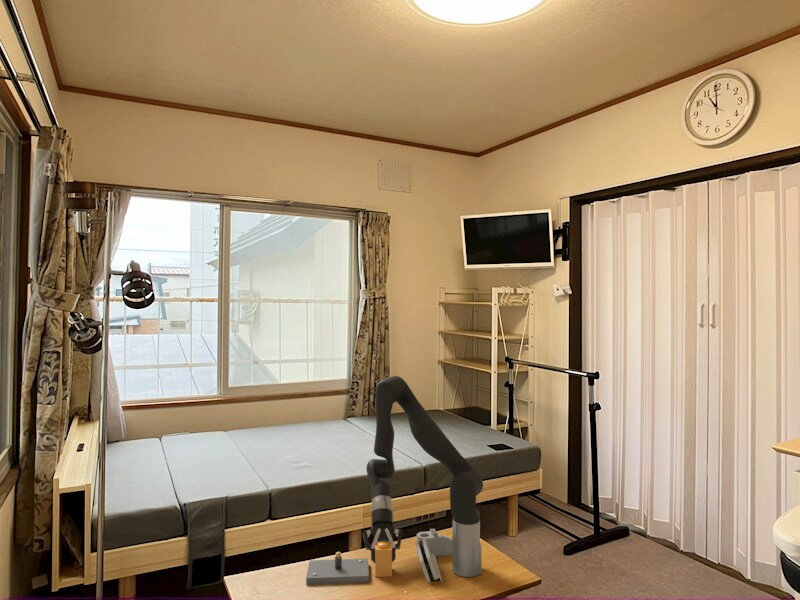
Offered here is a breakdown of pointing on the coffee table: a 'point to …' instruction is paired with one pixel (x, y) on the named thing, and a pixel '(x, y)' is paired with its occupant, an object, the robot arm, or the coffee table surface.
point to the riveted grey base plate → (337, 571)
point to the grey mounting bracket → (436, 542)
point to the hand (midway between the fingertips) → (383, 561)
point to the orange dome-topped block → (383, 559)
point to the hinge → (428, 561)
